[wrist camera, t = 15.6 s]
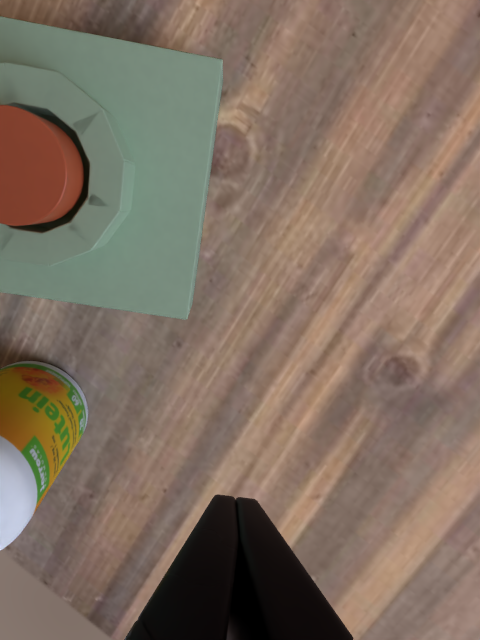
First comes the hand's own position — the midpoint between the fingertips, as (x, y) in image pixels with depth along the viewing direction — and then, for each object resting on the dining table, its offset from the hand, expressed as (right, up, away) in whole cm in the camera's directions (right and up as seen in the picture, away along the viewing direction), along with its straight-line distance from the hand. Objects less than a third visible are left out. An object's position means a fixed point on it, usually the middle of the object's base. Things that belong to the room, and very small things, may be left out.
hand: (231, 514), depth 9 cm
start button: (-7, +9, +7) cm, 13 cm away
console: (-7, +10, +10) cm, 16 cm away
